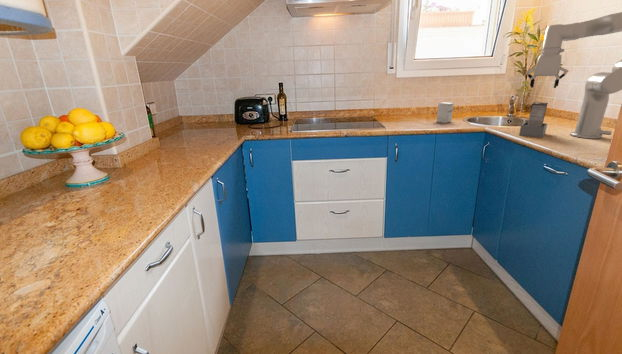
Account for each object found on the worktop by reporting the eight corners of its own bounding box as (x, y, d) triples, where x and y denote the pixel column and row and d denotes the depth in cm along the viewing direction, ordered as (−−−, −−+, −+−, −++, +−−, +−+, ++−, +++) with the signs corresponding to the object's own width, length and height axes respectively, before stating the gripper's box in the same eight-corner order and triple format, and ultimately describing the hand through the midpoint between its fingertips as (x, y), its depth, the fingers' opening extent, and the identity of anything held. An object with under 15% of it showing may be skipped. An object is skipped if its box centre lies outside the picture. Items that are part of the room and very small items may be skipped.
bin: (545, 133, 170) (547, 123, 168) (542, 137, 161) (544, 127, 159) (523, 131, 176) (525, 121, 174) (519, 135, 167) (521, 125, 165)
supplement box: (446, 123, 206) (448, 103, 202) (435, 121, 211) (438, 102, 207) (451, 121, 211) (454, 102, 206) (441, 120, 216) (443, 102, 212)
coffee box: (527, 131, 173) (533, 102, 168) (541, 132, 170) (548, 102, 164) (525, 134, 167) (531, 103, 161) (539, 135, 163) (546, 104, 157)
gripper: (573, 51, 152) (565, 87, 157) (531, 53, 163) (524, 87, 168) (572, 51, 146) (563, 88, 152) (528, 53, 157) (522, 87, 163)
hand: (543, 87), depth 160 cm, fingers open, 9 cm apart
